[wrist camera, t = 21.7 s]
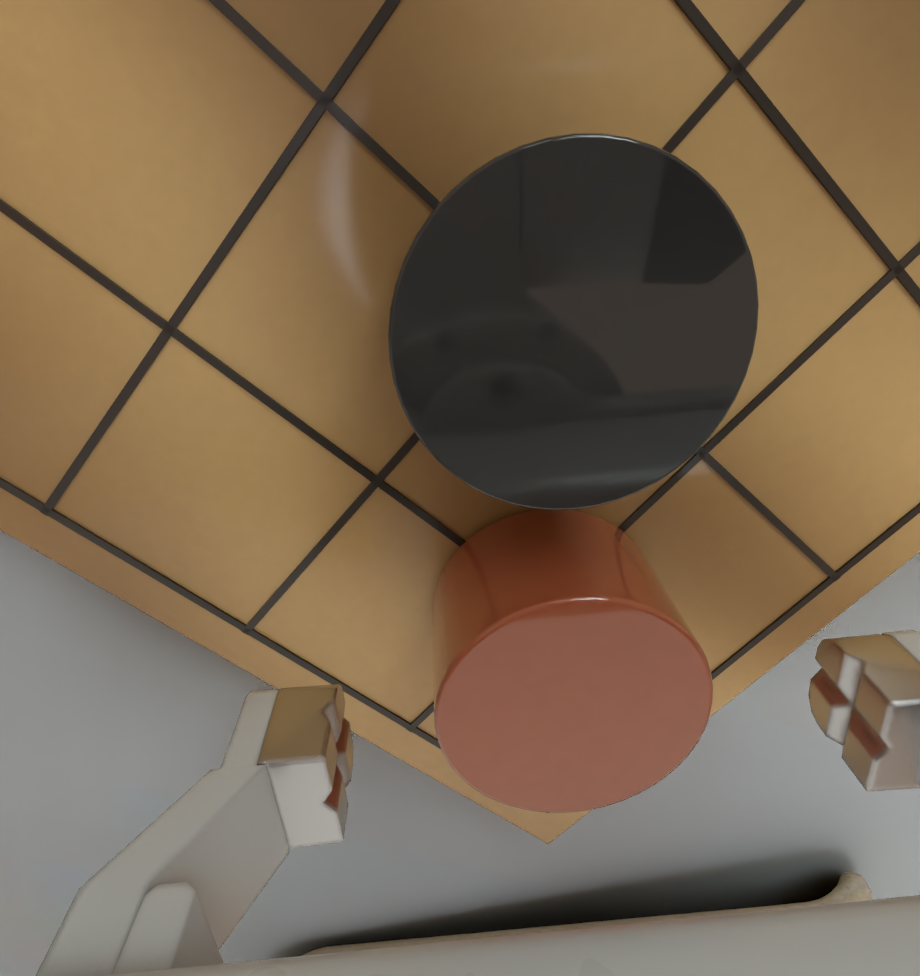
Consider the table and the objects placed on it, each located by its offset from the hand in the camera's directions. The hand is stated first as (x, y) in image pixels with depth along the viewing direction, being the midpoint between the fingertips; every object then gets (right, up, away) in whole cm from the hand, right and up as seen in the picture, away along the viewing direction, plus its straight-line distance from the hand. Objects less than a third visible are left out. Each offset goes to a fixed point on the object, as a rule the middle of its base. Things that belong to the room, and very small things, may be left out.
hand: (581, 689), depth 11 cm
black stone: (-1, +7, 0) cm, 7 cm away
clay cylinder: (0, +1, +3) cm, 3 cm away
